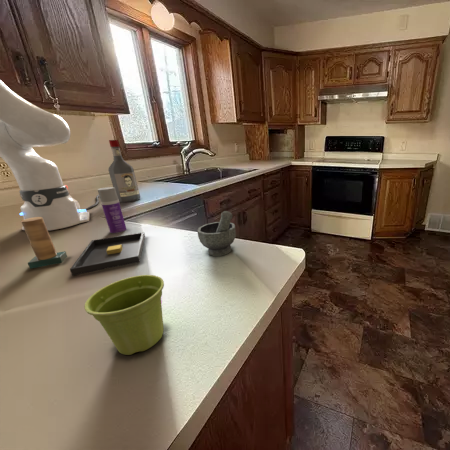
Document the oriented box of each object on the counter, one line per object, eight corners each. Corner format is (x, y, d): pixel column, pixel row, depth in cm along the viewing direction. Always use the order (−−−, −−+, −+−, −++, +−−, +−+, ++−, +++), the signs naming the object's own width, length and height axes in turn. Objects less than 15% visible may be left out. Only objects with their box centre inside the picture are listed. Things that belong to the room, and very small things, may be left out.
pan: (93, 246, 72) (91, 240, 71) (145, 238, 78) (144, 231, 77) (72, 277, 56) (69, 269, 55) (140, 263, 61) (138, 255, 61)
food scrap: (109, 250, 68) (108, 246, 68) (122, 248, 69) (121, 244, 69) (107, 254, 65) (106, 250, 65) (120, 252, 67) (119, 248, 66)
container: (118, 234, 81) (105, 190, 76) (106, 234, 82) (93, 189, 77) (130, 229, 85) (118, 187, 80) (119, 229, 86) (106, 186, 81)
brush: (37, 263, 63) (18, 219, 59) (68, 257, 65) (51, 215, 61) (30, 270, 59) (9, 223, 55) (62, 264, 62) (45, 219, 58)
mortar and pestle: (194, 253, 66) (186, 210, 62) (222, 241, 74) (217, 202, 70) (220, 263, 60) (213, 217, 56) (248, 250, 67) (244, 208, 63)
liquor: (115, 200, 128) (98, 140, 118) (134, 197, 135) (119, 140, 125) (123, 202, 123) (106, 140, 113) (142, 199, 130) (128, 139, 120)
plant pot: (88, 354, 35) (67, 304, 32) (147, 313, 44) (135, 270, 41) (133, 374, 32) (115, 321, 29) (187, 325, 40) (177, 280, 37)
